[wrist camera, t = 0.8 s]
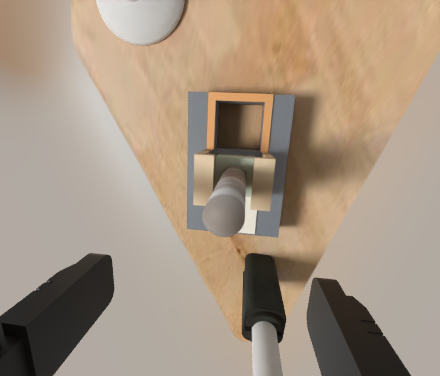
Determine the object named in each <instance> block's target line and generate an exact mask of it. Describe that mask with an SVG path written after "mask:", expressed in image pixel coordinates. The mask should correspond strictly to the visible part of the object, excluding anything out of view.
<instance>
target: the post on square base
mask: <svg viewBox="0 0 440 376" xmlns="http://www.w3.org/2000/svg"><path fill="white" fill-rule="evenodd" d="M254 157H255V156H254V155H237V154H221V153H219V154H218V155H217V156H216V162H215V186H214V191H213V193H212V194H211V196H210V198H209V200H208V202H207V204H206V206H205V207H204V210H203V213H202V219H203V223H204V225H205V227H206V228H207V229H208V231H210V232H211V233H212V234H214V235H216V236H219V237H229V236H233V235H235V234H236V233H238V232H239V231H240V230H241V229H242V227H243V225H244V222H245V197H251V192H252V180H253V169H254Z"/></svg>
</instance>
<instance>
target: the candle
mask: <svg viewBox="0 0 440 376" xmlns="http://www.w3.org/2000/svg"><path fill="white" fill-rule="evenodd" d="M285 323H286V315H285V310H284V305H283V300H282V295H281V290H280V286H279V281H278V276H277V271H276V266H275V261H274V259H273V258H272V257H271V256H267V255H260V254H253V253H251V254H248V255H247V256H246V257H245V271H244V272H243V305H242V335H243V337H244V338H245V339H247V340H250V341H251V342H252V358H253V376H283V374H282V367H281V361H280V354H279V347H278V343H280V342H281V341H282V338H283V334H284V328H285Z"/></svg>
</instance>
